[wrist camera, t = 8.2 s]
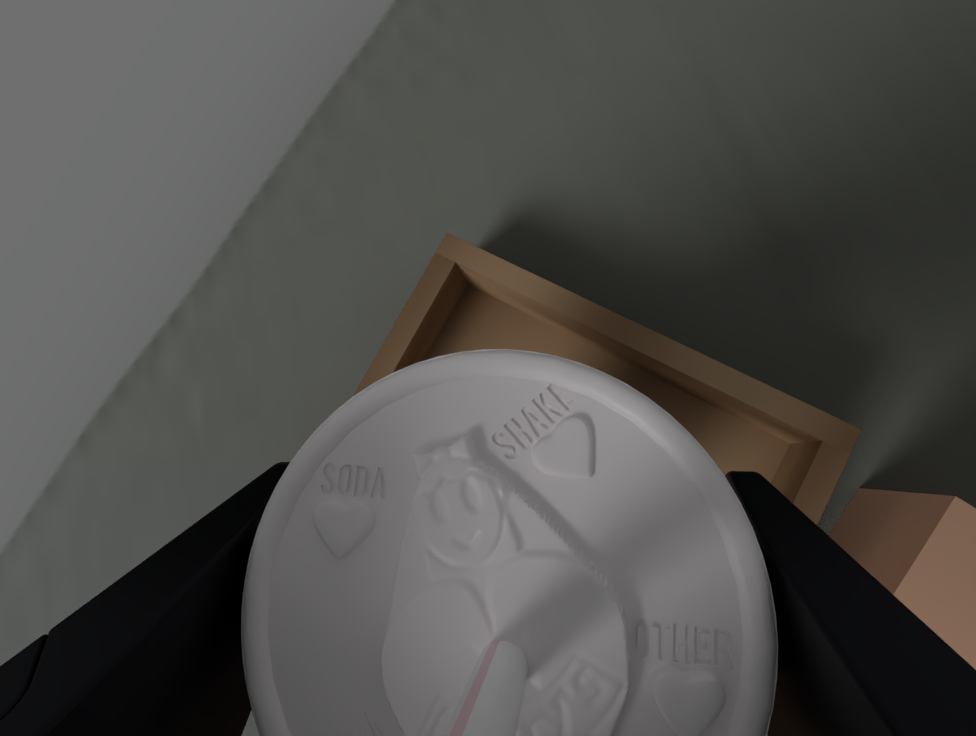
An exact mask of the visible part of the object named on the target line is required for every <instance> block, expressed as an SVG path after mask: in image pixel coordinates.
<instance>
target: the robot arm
mask: <svg viewBox="0 0 976 736" xmlns="http://www.w3.org/2000/svg"><path fill="white" fill-rule="evenodd" d="M289 463H290V462H280V463H277V464H275V465H274V466H272V467H271V468H269V469H268V470H267V471H265V472H264V473H263V474H261V475H260V476H259V477H257V478H256V479H254V480H253V481H252V482H250V483H249V484H248V485H246V486H245V487H244V488H242V489H241V490H240V491H238V492H237V493H235V494H234V495H233V496H231V497H230V498H229V499H227V500H226V501H225V502H223V503H222V504H220V505H219V506H218V507H216V508H215V509H214V510H212V511H211V512H210V513H208V514H207V515H206V516H204V517H203V518H201V519H200V520H199V521H197V522H196V523H195V524H193V525H192V526H191V527H189V528H188V529H187V530H185V531H184V532H182V533H181V534H180V535H178V536H177V537H176V538H174V539H173V540H172V541H170V542H169V543H168V544H166V545H165V546H163V547H162V548H161V549H159V550H158V551H157V552H155V553H154V554H153V555H151V556H150V557H149V558H147V559H146V560H144V561H143V562H142V563H140V564H139V565H138V566H136V567H135V568H134V569H132V570H131V571H129V572H128V573H127V574H125V575H124V576H123V577H121V578H120V579H119V580H117V581H116V582H115V583H113V584H112V585H110V586H109V587H108V588H106V589H105V590H104V591H102V592H101V593H100V594H98V595H97V596H96V597H94V598H93V599H91V600H90V601H89V602H87V603H86V604H85V605H83V606H82V607H81V608H79V609H78V610H76V611H75V612H74V613H72V614H71V615H70V616H68V617H67V618H66V619H64V620H63V621H62V622H60V623H59V624H57V625H56V626H55V627H53V628H52V629H51V630H50V631H49V634H48V635H47V634H45V635H42V636H41V637H40V638H38V639H37V640H36V641H34V642H33V643H31V644H30V645H29V646H27V647H26V648H25V649H23V650H22V651H21V652H19V653H18V654H16V655H15V656H14V657H12V658H11V659H10V660H8V661H7V662H5V663H4V664H3V665H1V666H0V736H241V735H242V733H243V730H244V728H245V725H246V722H247V720H248V717H249V715H250V712H251V710H252V708H251V704H250V700H249V696H248V691H247V687H246V680H245V673H244V667H243V658H242V642H241V612H242V599H243V590H244V581H245V576H246V571H247V565H248V560H249V555H250V552H251V548H252V545H253V541H254V538H255V534H256V531H257V528H258V526H259V523H260V521H261V518H262V515H263V513H264V510H265V507H266V505H267V503H268V501H269V499H270V497H271V495H272V493H273V491H274V489H275V487H276V485H277V483H278V482H279V480H280V478H281V476H282V475H283V473H284V471H285V470H286V468H287V466H288V465H289ZM725 477H726V479H727V481H728V482H729V484H730V486H731V487H732V489H733V491H734V492H735V494H736V496H737V497H738V499H739V501H740V502H741V505H742V507H743V509H744V511H745V513H746V515H747V517H748V519H749V521H750V523H751V525H752V527H753V530H754V533H755V535H756V538H757V541H758V543H759V546H760V549H761V551H762V554H763V557H764V561H765V565H766V569H767V572H768V576H769V580H770V583H771V589H772V594H773V600H774V606H775V612H776V623H777V637H778V669H777V683H776V691H775V699H774V707H773V711H772V715H771V720H770V724H769V729H768V733H767V735H768V736H976V670H975V669H974V668H973V667H972V666H971V665H970V664H969V663H968V662H967V661H965V660H964V659H963V658H962V657H961V656H960V655H959V654H958V653H957V652H956V651H954V650H953V649H952V648H951V647H950V646H949V645H948V644H947V643H946V642H945V641H944V640H942V639H941V638H940V637H939V636H938V635H937V634H936V633H935V632H934V631H933V630H931V629H930V628H929V627H928V626H927V625H926V624H925V623H924V622H923V621H922V620H920V619H919V618H918V617H917V616H916V615H915V614H914V613H913V612H912V611H911V610H909V609H908V608H907V607H906V606H905V605H904V604H903V603H902V602H901V601H900V600H898V599H897V598H896V597H895V596H894V595H893V594H892V593H891V592H890V591H889V590H887V589H886V588H885V587H884V586H883V585H882V584H881V583H880V582H879V581H878V580H877V579H875V578H874V577H873V576H872V575H871V574H870V573H869V572H868V571H867V570H866V569H864V568H863V567H862V566H861V565H860V564H859V563H858V562H857V561H856V560H855V559H853V558H852V557H851V556H850V555H849V554H848V553H847V552H846V551H845V550H844V549H842V548H841V547H840V546H839V545H838V544H837V543H836V542H835V541H834V540H833V539H831V538H830V537H829V536H828V535H827V534H826V533H825V532H824V531H823V530H822V529H820V528H819V527H818V526H817V525H816V524H815V523H814V522H813V521H812V520H811V519H809V518H808V517H807V516H806V515H805V514H804V513H803V512H802V511H801V510H800V509H799V508H797V507H796V506H795V505H794V504H793V503H792V502H791V501H790V500H789V499H788V498H786V497H785V496H784V495H783V494H782V493H781V492H780V491H779V490H778V489H777V488H775V487H774V486H773V485H772V484H771V483H770V482H769V481H768V480H767V479H766V478H764V477H763V476H762V475H761V474H759V473H757V472H754V471H730V472H728V473H727V474H726V475H725Z"/></svg>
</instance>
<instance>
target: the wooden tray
mask: <svg viewBox="0 0 976 736" xmlns="http://www.w3.org/2000/svg"><path fill="white" fill-rule="evenodd" d="M483 349H512V350H523V351H533V352H538V353H544V354H549V355H554V356H558V357H562V358H565V359H569V360H572V361H576V362H579V363H582V364H585V365H587V366H590V367H592V368H595V369H597V370H600V371H602V372H605V373H606V374H608V375H610V376H612V377H614V378H616V379H618V380H620V381H622V382H624V383H626V384H628V385H629V386H631V387H633V388H634V389H636V390H637V391H639V392H640V393H642V394H644V395H645V396H647V397H648V398H650V399H651V400H652V401H653V402H655V403H656V404H657V405H659V406H660V407H661V408H663V409H664V410H665V411H666V412H668V413H669V414H670V415H671V416H672V417H673V418H674V419H676V420H677V421H678V422H679V423H680V424H681V425H682V426H683V427H684V428H685V429H686V430H687V431H688V432H689V433H690V434H691V435H692V436H693V437H694V438H695V439H696V440H697V442H698V443H699V444H700V445H701V446H702V447H703V448H704V449H705V451H706V452H707V453H708V454H709V455H710V457H711V458H712V459H713V461H714V462H715V463H716V465H717V466H718V468H719V469H720V470H721V472H722V473H723V474H724V476H725V475H726V474H727V473H728V472H730V471H754V472H757V473H759V474H761V475H762V476H763V477H764V478H766V479H767V480H768V481H769V482H770V483H771V484H772V485H773V486H774V487H775V488H777V489H778V490H779V491H780V492H781V493H782V494H783V495H784V496H785V497H786V498H788V499H789V500H790V501H791V502H792V503H793V504H794V505H795V506H796V507H797V508H799V509H800V510H801V511H802V512H803V513H804V514H805V515H806V516H807V517H808V518H809V519H811V520H812V521H813V522H814V523H815V524H816V525H817V524H818V522H819V520H820V518H821V516H822V514H823V512H824V509H825V507H826V505H827V503H828V501H829V499H830V497H831V495H832V493H833V490H834V488H835V486H836V484H837V482H838V480H839V478H840V476H841V474H842V472H843V469H844V467H845V465H846V463H847V461H848V459H849V457H850V455H851V453H852V450H853V448H854V446H855V444H856V442H857V440H858V438H859V436H860V434H861V431H862V429H860V428H858V427H855V426H853V425H851V424H849V423H847V422H845V421H843V420H841V419H839V418H836V417H834V416H832V415H830V414H828V413H826V412H824V411H822V410H820V409H817V408H815V407H813V406H811V405H809V404H807V403H805V402H803V401H801V400H799V399H796V398H794V397H792V396H790V395H788V394H786V393H784V392H782V391H780V390H777V389H775V388H773V387H771V386H769V385H767V384H765V383H763V382H761V381H758V380H756V379H754V378H752V377H750V376H748V375H746V374H744V373H742V372H739V371H737V370H735V369H733V368H731V367H729V366H727V365H725V364H723V363H720V362H718V361H716V360H714V359H712V358H710V357H708V356H706V355H704V354H702V353H699V352H697V351H695V350H693V349H691V348H689V347H687V346H685V345H683V344H680V343H678V342H676V341H674V340H672V339H670V338H668V337H666V336H664V335H661V334H659V333H657V332H655V331H653V330H651V329H649V328H647V327H645V326H642V325H640V324H638V323H636V322H634V321H632V320H630V319H628V318H626V317H623V316H621V315H619V314H617V313H615V312H613V311H611V310H609V309H607V308H604V307H602V306H600V305H598V304H596V303H594V302H592V301H590V300H588V299H586V298H583V297H581V296H579V295H577V294H575V293H573V292H571V291H569V290H567V289H564V288H562V287H560V286H558V285H556V284H554V283H552V282H550V281H548V280H545V279H543V278H541V277H539V276H537V275H535V274H533V273H531V272H529V271H526V270H524V269H522V268H520V267H518V266H516V265H514V264H512V263H510V262H507V261H505V260H503V259H501V258H499V257H497V256H495V255H493V254H491V253H488V252H486V251H484V250H482V249H480V248H478V247H476V246H474V245H472V244H470V243H467V242H465V241H463V240H461V239H459V238H457V237H455V236H453V235H451V234H448V233H447V234H446V235H445V237H444V239H443V241H442V242H441V244H440V246H439V248H438V249H437V251H436V253H435V255H434V256H433V258H432V260H431V262H430V263H429V265H428V267H427V269H426V270H425V272H424V274H423V275H422V277H421V279H420V281H419V282H418V284H417V286H416V288H415V289H414V291H413V293H412V295H411V296H410V298H409V300H408V302H407V303H406V305H405V307H404V309H403V310H402V312H401V314H400V316H399V317H398V319H397V321H396V323H395V324H394V326H393V328H392V330H391V331H390V333H389V335H388V337H387V338H386V340H385V342H384V344H383V345H382V347H381V349H380V350H379V352H378V354H377V356H376V357H375V359H374V361H373V363H372V364H371V366H370V368H369V370H368V371H367V373H366V375H365V377H364V378H363V380H362V382H361V384H360V385H359V387H358V389H357V391H356V392H355V394H354V396H355V395H356V394H358V393H359V392H361V391H362V390H364V389H365V388H367V387H368V386H370V385H371V384H373V383H375V382H376V381H378V380H380V379H382V378H384V377H386V376H388V375H390V374H392V373H393V372H396V371H398V370H401V369H403V368H405V367H408V366H410V365H413V364H415V363H418V362H421V361H425V360H428V359H431V358H435V357H438V356H443V355H448V354H453V353H458V352H464V351H474V350H483Z"/></svg>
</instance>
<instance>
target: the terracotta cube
mask: <svg viewBox="0 0 976 736" xmlns="http://www.w3.org/2000/svg"><path fill="white" fill-rule="evenodd" d="M828 536H829V537H830V538H831V539H833V540H834V541H835V542H836V543H837V544H838V545H839V546H840V547H841V548H842V549H844V550H845V551H846V552H847V553H848V554H849V555H850V556H851V557H852V558H853V559H855V560H856V561H857V562H858V563H859V564H860V565H861V566H862V567H863V568H864V569H866V570H867V571H868V572H869V573H870V574H871V575H872V576H873V577H874V578H875V579H877V580H878V581H879V582H880V583H881V584H882V585H883V586H884V587H885V588H886V589H887V590H889V591H890V592H891V593H892V594H893V595H894V596H895V597H896V598H897V599H898V600H900V601H901V602H902V603H903V604H904V605H905V606H906V607H907V608H908V609H909V610H911V611H912V612H913V613H914V614H915V615H916V616H917V617H918V618H919V619H920V620H922V621H923V622H924V623H925V624H926V625H927V626H928V627H929V628H930V629H931V630H933V631H934V632H935V633H936V634H937V635H938V636H939V637H940V638H941V639H942V640H944V641H945V642H946V643H947V644H948V645H949V646H950V647H951V648H952V649H953V650H954V651H956V652H957V653H958V654H959V655H960V656H961V657H962V658H963V659H964V660H965V661H967V662H968V663H969V664H970V665H971V666H972V667H973V668H974V669H975V670H976V508H974V507H973V506H971V505H969V504H968V503H966V502H965V501H963V500H961V499H960V498H958V497H956V496H949V495H937V494H925V493H913V492H901V491H889V490H877V489H864V488H859V489H858V490H857V492H856V493H855V495H854V497H853V498H852V500H851V501H850V503H849V504H848V506H847V507H846V509H845V510H844V512H843V514H842V515H841V517H840V518H839V520H838V521H837V523H836V524H835V526H834V527H833V529H832V531H831V532H830V534H829V535H828Z"/></svg>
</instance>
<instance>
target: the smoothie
mask: <svg viewBox="0 0 976 736" xmlns="http://www.w3.org/2000/svg"><path fill="white" fill-rule="evenodd" d="M241 642H242V658H243V667H244V673H245V680H246V687H247V691H248V696H249V700H250V704H251V708H252V713H253V716H254V719H255V722H256V725H257V728H258V731H259V734H260V736H767V733H768V729H769V724H770V720H771V715H772V711H773V707H774V699H775V691H776V683H777V669H778V637H777V623H776V612H775V606H774V600H773V594H772V589H771V583H770V580H769V576H768V572H767V569H766V565H765V561H764V557H763V554H762V551H761V549H760V546H759V543H758V541H757V538H756V535H755V533H754V530H753V527H752V525H751V523H750V521H749V519H748V517H747V515H746V513H745V511H744V509H743V507H742V505H741V502H740V501H739V499H738V497H737V496H736V494H735V492H734V491H733V489H732V487H731V486H730V484H729V482H728V481H727V479H726V477H725V476H724V474H723V473H722V472H721V470H720V469H719V468H718V466H717V465H716V463H715V462H714V461H713V459H712V458H711V457H710V455H709V454H708V453H707V452H706V451H705V449H704V448H703V447H702V446H701V445H700V444H699V443H698V442H697V440H696V439H695V438H694V437H693V436H692V435H691V434H690V433H689V432H688V431H687V430H686V429H685V428H684V427H683V426H682V425H681V424H680V423H679V422H678V421H677V420H676V419H674V418H673V417H672V416H671V415H670V414H669V413H668V412H666V411H665V410H664V409H663V408H661V407H660V406H659V405H657V404H656V403H655V402H653V401H652V400H651V399H650V398H648V397H647V396H645V395H644V394H642V393H640V392H639V391H637V390H636V389H634V388H633V387H631V386H629V385H628V384H626V383H624V382H622V381H620V380H618V379H616V378H614V377H612V376H610V375H608V374H606V373H605V372H602V371H600V370H597V369H595V368H592V367H590V366H587V365H585V364H582V363H579V362H576V361H572V360H569V359H565V358H562V357H558V356H554V355H549V354H544V353H538V352H533V351H523V350H512V349H483V350H474V351H464V352H458V353H453V354H448V355H443V356H438V357H435V358H431V359H428V360H425V361H421V362H418V363H415V364H413V365H410V366H408V367H405V368H403V369H401V370H398V371H396V372H393V373H392V374H390V375H388V376H386V377H384V378H382V379H380V380H378V381H376V382H375V383H373V384H371V385H370V386H368V387H367V388H365V389H364V390H362V391H361V392H359V393H358V394H356V395H355V396H353V397H352V398H351V399H349V400H348V401H347V402H346V403H344V404H343V405H342V406H341V407H339V408H338V409H337V410H336V411H335V412H333V413H332V414H331V415H330V416H329V417H328V418H327V419H326V420H325V421H324V422H323V423H322V424H321V425H320V426H319V427H318V428H317V429H316V430H315V431H314V433H313V434H312V435H311V436H310V437H309V438H308V440H307V441H306V442H305V443H304V444H303V445H302V447H301V448H300V449H299V451H298V452H297V454H296V455H295V456H294V458H293V459H292V461H291V462H290V463H289V465H288V466H287V468H286V470H285V471H284V473H283V475H282V476H281V478H280V480H279V482H278V483H277V485H276V487H275V489H274V491H273V493H272V495H271V497H270V499H269V501H268V503H267V505H266V507H265V510H264V513H263V515H262V518H261V521H260V523H259V526H258V528H257V531H256V534H255V538H254V541H253V545H252V548H251V552H250V555H249V560H248V565H247V571H246V576H245V581H244V590H243V599H242V612H241Z"/></svg>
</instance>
